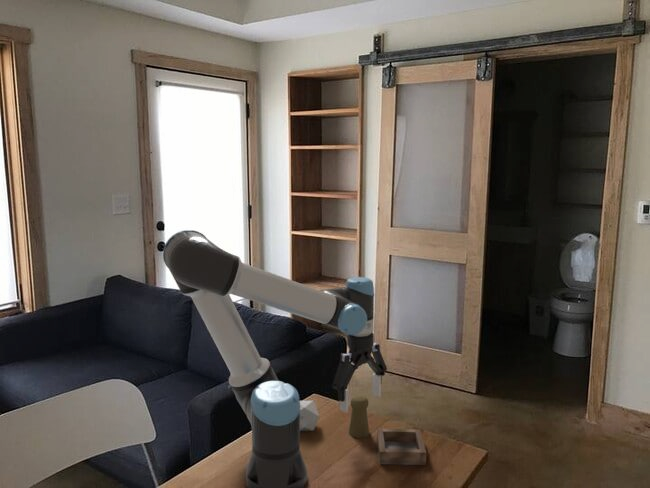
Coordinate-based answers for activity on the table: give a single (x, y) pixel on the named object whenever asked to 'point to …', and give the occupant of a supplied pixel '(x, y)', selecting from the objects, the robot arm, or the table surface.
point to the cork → (359, 417)
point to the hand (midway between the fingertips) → (360, 403)
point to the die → (308, 415)
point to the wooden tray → (401, 447)
